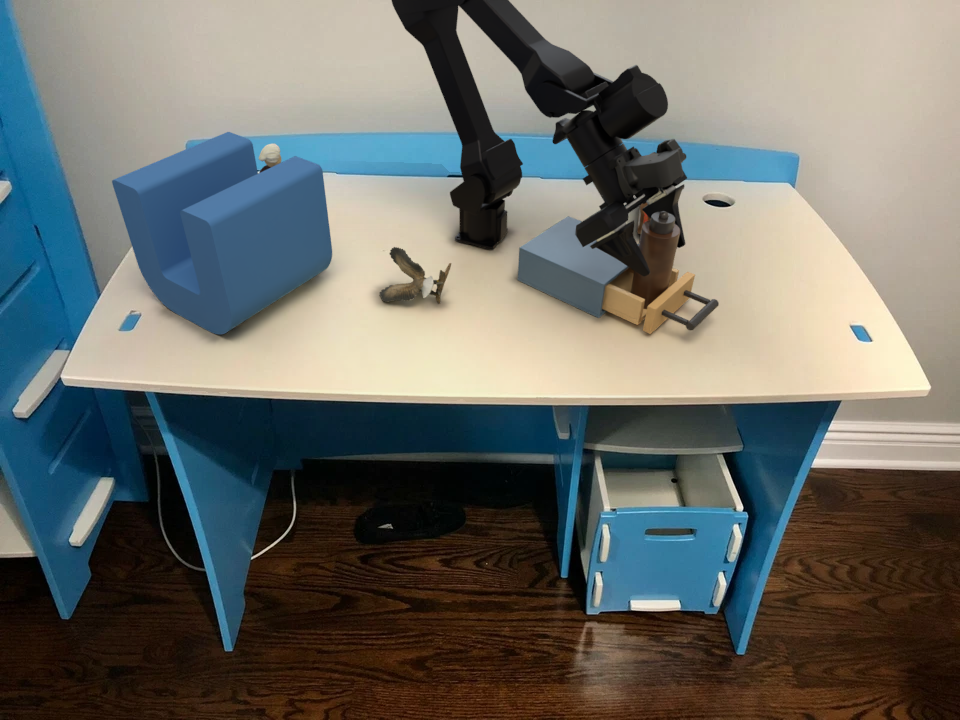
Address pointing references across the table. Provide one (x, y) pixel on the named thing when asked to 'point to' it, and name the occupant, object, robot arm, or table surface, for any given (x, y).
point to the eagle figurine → (418, 283)
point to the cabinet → (568, 267)
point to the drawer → (655, 301)
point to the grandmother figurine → (270, 156)
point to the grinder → (656, 256)
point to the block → (225, 229)
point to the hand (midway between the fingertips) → (665, 260)
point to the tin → (642, 218)
